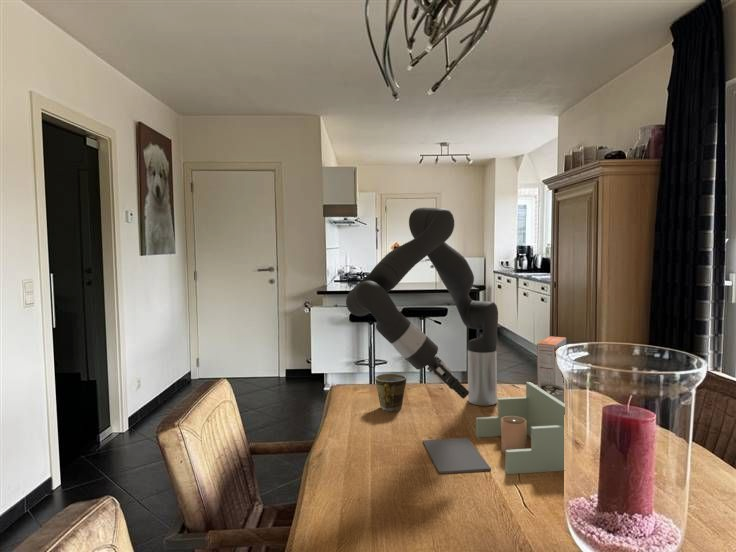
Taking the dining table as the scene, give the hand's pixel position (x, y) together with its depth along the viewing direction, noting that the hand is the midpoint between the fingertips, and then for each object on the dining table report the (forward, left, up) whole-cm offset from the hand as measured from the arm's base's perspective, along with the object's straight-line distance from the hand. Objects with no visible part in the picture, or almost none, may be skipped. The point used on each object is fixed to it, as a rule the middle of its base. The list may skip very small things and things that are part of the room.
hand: (461, 390), depth 116 cm
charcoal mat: (0, -2, -16) cm, 16 cm away
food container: (-17, +32, -16) cm, 40 cm away
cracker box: (-33, +39, -16) cm, 54 cm away
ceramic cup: (-36, -13, -16) cm, 41 cm away
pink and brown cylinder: (0, +13, -16) cm, 21 cm away
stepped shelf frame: (0, +14, -16) cm, 21 cm away
